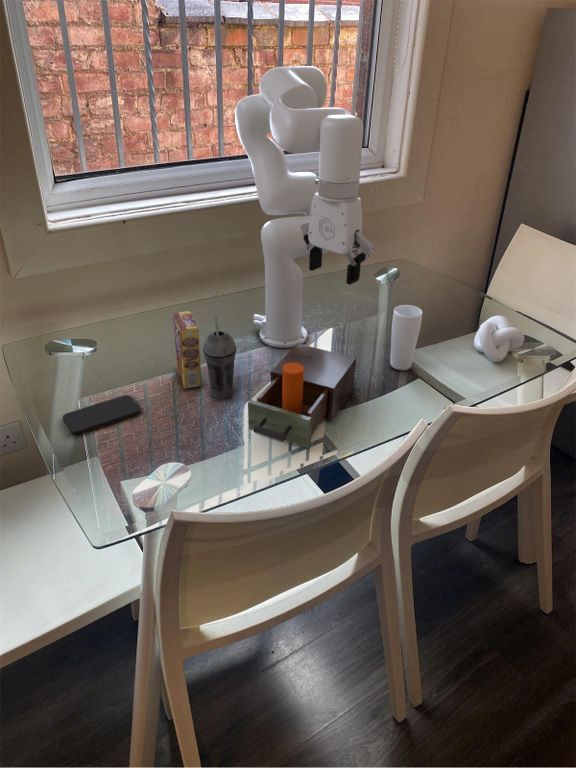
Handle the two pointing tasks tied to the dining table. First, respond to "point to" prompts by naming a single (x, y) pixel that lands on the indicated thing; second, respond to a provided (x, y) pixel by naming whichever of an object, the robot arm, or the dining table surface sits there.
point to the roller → (292, 387)
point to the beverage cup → (220, 362)
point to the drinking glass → (404, 335)
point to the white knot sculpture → (497, 338)
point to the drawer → (288, 414)
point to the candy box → (187, 349)
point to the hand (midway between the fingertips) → (333, 275)
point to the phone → (100, 414)
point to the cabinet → (323, 373)
